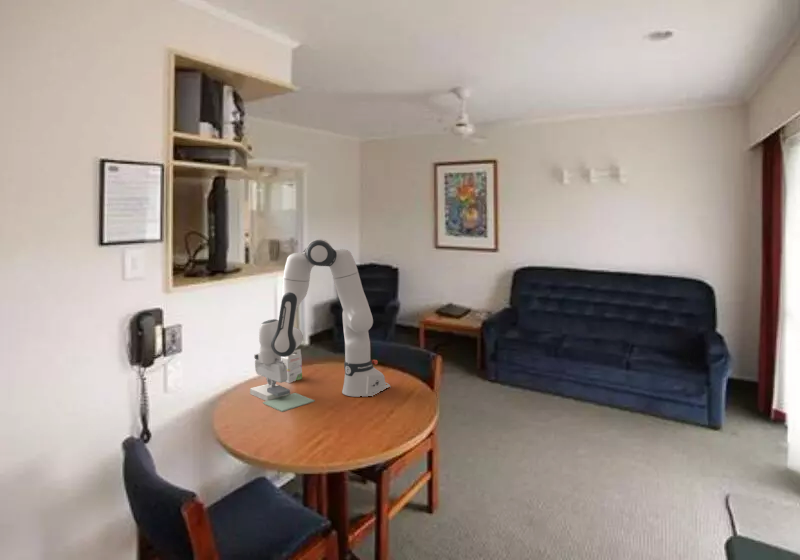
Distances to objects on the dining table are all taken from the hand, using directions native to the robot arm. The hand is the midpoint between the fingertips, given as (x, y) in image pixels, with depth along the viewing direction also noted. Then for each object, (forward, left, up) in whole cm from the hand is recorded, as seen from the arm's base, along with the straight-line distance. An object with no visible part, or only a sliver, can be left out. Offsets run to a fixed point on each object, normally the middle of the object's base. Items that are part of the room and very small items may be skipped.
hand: (271, 388), depth 215 cm
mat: (0, +13, -3) cm, 13 cm away
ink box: (-18, -11, -3) cm, 22 cm away
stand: (0, -1, -3) cm, 4 cm away
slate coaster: (0, +5, -1) cm, 5 cm away
